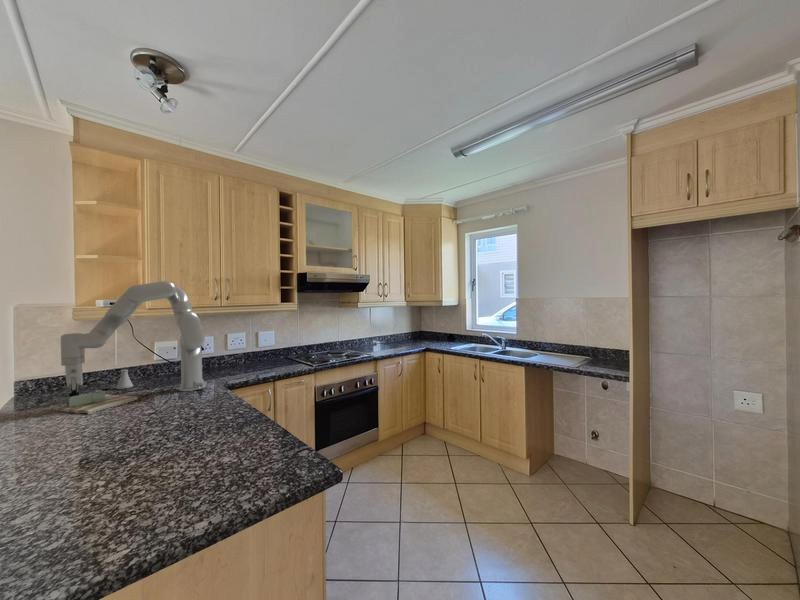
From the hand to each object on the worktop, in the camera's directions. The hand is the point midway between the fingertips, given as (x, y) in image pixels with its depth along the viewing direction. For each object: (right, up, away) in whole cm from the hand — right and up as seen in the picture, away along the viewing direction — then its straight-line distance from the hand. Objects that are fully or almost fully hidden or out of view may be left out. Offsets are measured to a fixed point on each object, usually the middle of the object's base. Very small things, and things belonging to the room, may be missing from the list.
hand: (74, 401), depth 146 cm
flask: (-6, -3, +34) cm, 35 cm away
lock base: (+7, -3, +4) cm, 9 cm away
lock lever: (+5, -1, +1) cm, 5 cm away
